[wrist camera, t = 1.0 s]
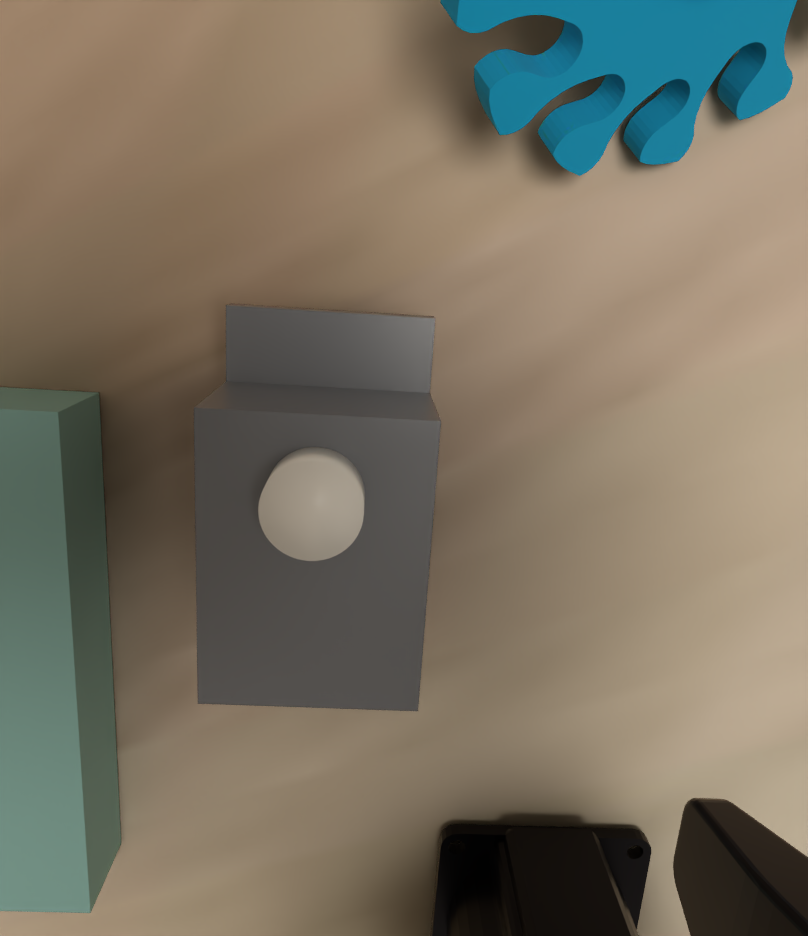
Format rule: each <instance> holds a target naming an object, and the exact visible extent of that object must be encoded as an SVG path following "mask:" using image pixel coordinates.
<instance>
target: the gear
mask: <svg viewBox="0 0 808 936" xmlns="http://www.w3.org/2000/svg"><path fill="white" fill-rule="evenodd" d="M796 2H797V0H441V2H440V3H441V4H442V5H443V7H444V8H445V10H446V11H447V13H448V14H449V16H450V17H451V19H452V20H453V21H454V23H455V24H456V26H457V27H459V28H460V29H462V30H463V31H466V32H469V33H481V32H484V31H487V30H490V29H491V28H493V27H495V26H497V25H499V24H501V23H503V22H505V21H508V20H511V19H514V18H517V17H522V16H528V15H547V16H551V17H556V18H559V19H562V20H565V21H564V27H563V30H562V33H561V35H560V37H559V38H558V40H557V41H556V42H555V44H554V45H553V46H552V47H551V48H549V49H548V50H547V51H545V52H543V53H541V54H538V55H526V54H523V53H520V52H517V51H514V50H509V49H500V50H496V51H493V52H491V53H489V54H488V55H486V56H485V57H483V58H482V59H481V60H480V61H479V62H478V63H477V64H476V65H475V66H474V81H475V88H476V91H477V94H478V97H479V100H480V102H481V104H482V107H483V109H484V111H485V113H486V114H487V116H488V117H489V119H490V121H491V122H492V124H493V125H494V127H495V128H496V130H497V131H498V133H499V134H500V135H507V134H511V133H514V132H516V131H518V130H520V129H521V128H523V127H524V126H525V125H527V124H528V123H529V122H530V121H531V120H532V118H533V117H534V116H535V115H536V114H537V113H538V112H539V111H540V110H541V109H542V108H543V107H544V106H545V105H546V104H547V103H548V102H549V101H551V100H552V99H553V98H555V97H556V96H558V95H559V94H560V93H562V92H563V91H565V90H567V89H569V88H571V87H573V86H574V85H577V84H579V83H582V82H584V81H587V80H590V79H593V78H597V77H600V76H603V75H606V76H605V78H604V80H603V82H602V84H601V85H600V86H599V88H598V89H597V90H596V91H595V92H594V93H593V94H591V95H590V96H588V97H586V98H584V99H581V100H578V101H574V102H571V103H568V104H565V105H562V106H560V107H558V108H557V109H555V110H554V111H553V112H551V113H550V114H549V115H548V116H547V117H546V118H545V120H544V121H543V122H542V124H541V126H540V128H539V130H538V134H539V136H540V138H541V140H542V141H543V142H544V144H545V145H546V147H547V148H548V150H549V151H550V153H551V154H552V155H553V157H554V158H555V160H556V161H557V162H558V163H559V164H560V165H561V166H562V167H563V168H565V169H567V170H568V171H570V172H572V173H574V174H577V175H579V176H580V175H582V174H584V173H586V172H587V171H589V170H590V169H591V168H592V167H594V165H595V164H596V163H597V162H598V161H599V160H600V158H601V157H602V155H603V153H604V151H605V149H606V146H607V144H608V142H609V140H610V139H611V137H612V135H613V134H614V132H615V131H616V129H617V128H618V127H619V125H620V124H621V123H622V121H623V120H624V119H625V118H626V117H627V116H628V115H629V113H630V112H631V111H632V110H633V109H634V108H635V107H636V106H638V105H639V104H640V103H641V102H642V101H643V100H644V99H646V98H647V97H648V96H649V95H651V94H652V93H653V92H654V91H656V90H657V89H658V88H660V87H661V86H662V85H664V84H665V83H667V82H668V83H667V85H666V86H665V88H664V89H663V90H662V92H661V93H660V94H659V95H657V96H656V97H655V98H654V99H653V100H651V101H650V102H649V103H648V104H646V105H645V106H644V107H642V108H641V109H640V110H639V111H638V112H637V113H636V114H635V115H634V116H633V117H632V118H631V120H630V122H629V123H628V125H627V127H626V129H625V133H624V142H625V143H626V144H627V146H628V147H629V148H630V150H631V151H632V152H633V153H634V155H635V156H636V157H637V158H638V160H639V161H640V162H642V163H645V164H654V165H656V164H666V163H671V162H676V161H679V160H680V159H681V158H682V157H683V156H684V154H685V153H686V152H687V150H688V149H689V147H690V145H691V143H692V140H693V136H694V124H695V119H696V115H697V112H698V110H699V107H700V104H701V102H702V100H703V98H704V96H705V94H706V92H707V90H708V89H709V87H710V86H711V84H712V83H713V81H714V80H715V78H716V77H717V75H718V74H719V73H720V71H721V70H722V68H723V67H724V66H725V64H726V63H727V61H728V60H729V59H730V58H731V57H732V55H733V54H734V53H736V52H737V51H738V50H739V49H740V50H739V52H738V53H737V54H736V56H735V57H734V59H733V60H732V61H731V63H730V64H729V65H728V67H727V68H726V70H725V71H724V73H723V74H722V76H721V79H720V81H719V84H718V92H717V93H718V97H719V98H720V100H721V101H722V102H723V103H724V104H725V105H726V106H727V107H728V108H729V109H730V110H731V111H732V113H733V114H734V115H735V116H736V117H737V118H738V119H739V120H742V119H746V118H749V117H751V116H754V115H756V114H758V113H760V112H762V111H764V110H766V109H768V108H769V107H771V106H773V105H774V104H776V103H777V102H779V101H781V100H782V99H784V98H785V97H786V95H787V94H788V92H789V90H790V87H791V85H792V79H793V77H792V72H791V71H790V69H789V68H788V66H787V63H786V60H785V56H784V43H785V36H786V32H787V28H788V25H789V21H790V19H791V16H792V13H793V10H794V7H795V5H796Z"/></svg>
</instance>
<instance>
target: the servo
mask: <svg viewBox="0 0 808 936" xmlns="http://www.w3.org/2000/svg"><path fill="white" fill-rule="evenodd" d="M434 330H435V318H434V317H433V316H420V315H404V314H388V313H372V312H356V311H340V310H324V309H308V308H293V307H277V306H261V305H245V304H229V305H226V382H225V383H223V384H222V385H221V386H220V387H218V388H217V389H216V390H215V391H214V392H212V393H211V394H210V395H209V396H207V397H206V398H205V399H204V400H203V401H201V402H200V403H199V404H198V405H196V406H195V407H194V456H195V530H196V603H197V676H198V704H226V705H254V706H283V707H312V708H340V709H369V710H398V711H418V704H419V691H420V679H421V666H422V654H423V641H424V628H425V616H426V603H427V591H428V578H429V565H430V553H431V540H432V528H433V515H434V503H435V490H436V477H437V465H438V452H439V440H440V427H441V420H440V418H439V415H438V413H437V410H436V407H435V405H434V402H433V400H432V397H431V395H430V384H431V370H432V357H433V343H434Z"/></svg>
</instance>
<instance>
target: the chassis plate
mask: <svg viewBox="0 0 808 936" xmlns="http://www.w3.org/2000/svg"><path fill="white" fill-rule="evenodd" d="M120 845H121V831H120V810H119V790H118V769H117V749H116V728H115V708H114V688H113V667H112V647H111V626H110V606H109V586H108V565H107V545H106V524H105V504H104V483H103V463H102V443H101V422H100V402H99V393H97V392H80V391H62V390H44V389H27V388H9V387H0V911H27V912H71V913H91V911H92V908H93V906H94V904H95V901H96V899H97V897H98V895H99V892H100V890H101V888H102V886H103V883H104V881H105V879H106V876H107V874H108V872H109V870H110V867H111V865H112V863H113V861H114V858H115V856H116V854H117V852H118V849H119V847H120Z"/></svg>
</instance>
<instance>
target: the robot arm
mask: <svg viewBox="0 0 808 936" xmlns="http://www.w3.org/2000/svg"><path fill="white" fill-rule="evenodd" d="M457 840H458V841H462V842H461V843H459V844H452V842H453V841H457ZM635 845H637V847H635V848H633V849H629V848H630V847H632V846H635ZM650 856H651V847H650V845H649V842H648V840H647V838H646V836H645V835H644V833H643V832H641V831H639V830H635V829H614V828H579V827H545V826H510V825H476V824H453V825H449V826H447V827H445V828H444V829H443V831H442V832H441V834H440V838H439V849H438V859H437V870H436V881H435V891H434V902H433V913H432V923H431V934H430V936H639V935H638V932H637V925H638V919H639V914H640V909H641V904H642V898H643V893H644V888H645V883H646V877H647V872H648V867H649V861H650ZM673 870H674V879H675V884H676V887H677V891H678V894H679V898H680V901H681V904H682V908H683V911H684V915H685V918H686V921H687V925H688V928H689V932H690V935H691V936H808V857H807V856H805V855H804V854H803V853H801V852H800V851H798V850H797V849H796V848H794V847H793V846H791V845H790V844H789V843H787V842H786V841H784V840H783V839H782V838H780V837H779V836H778V835H776V834H775V833H773V832H772V831H771V830H769V829H768V828H766V827H765V826H764V825H762V824H761V823H759V822H758V821H757V820H755V819H754V818H752V817H751V816H750V815H748V814H747V813H745V812H744V811H743V810H741V809H740V808H738V807H737V806H736V805H734V804H733V803H731V802H729V801H727V800H724V799H708V798H693V799H691V800H689V801H688V802H687V804H686V805H685V808H684V811H683V815H682V820H681V825H680V830H679V835H678V840H677V845H676V850H675V855H674V863H673Z"/></svg>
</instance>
